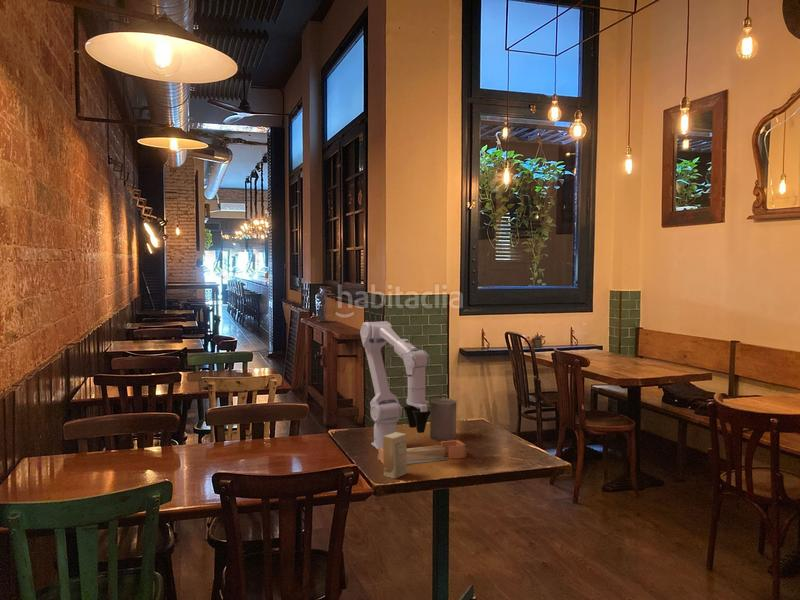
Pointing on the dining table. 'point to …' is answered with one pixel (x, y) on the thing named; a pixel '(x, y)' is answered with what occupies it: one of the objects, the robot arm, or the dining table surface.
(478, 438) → the dining table surface
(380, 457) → the cap sliding
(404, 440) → the skincare box
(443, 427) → the pillar candle
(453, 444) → the pink open box
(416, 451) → the pale wooden block
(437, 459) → the guide rails
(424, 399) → the robot arm
